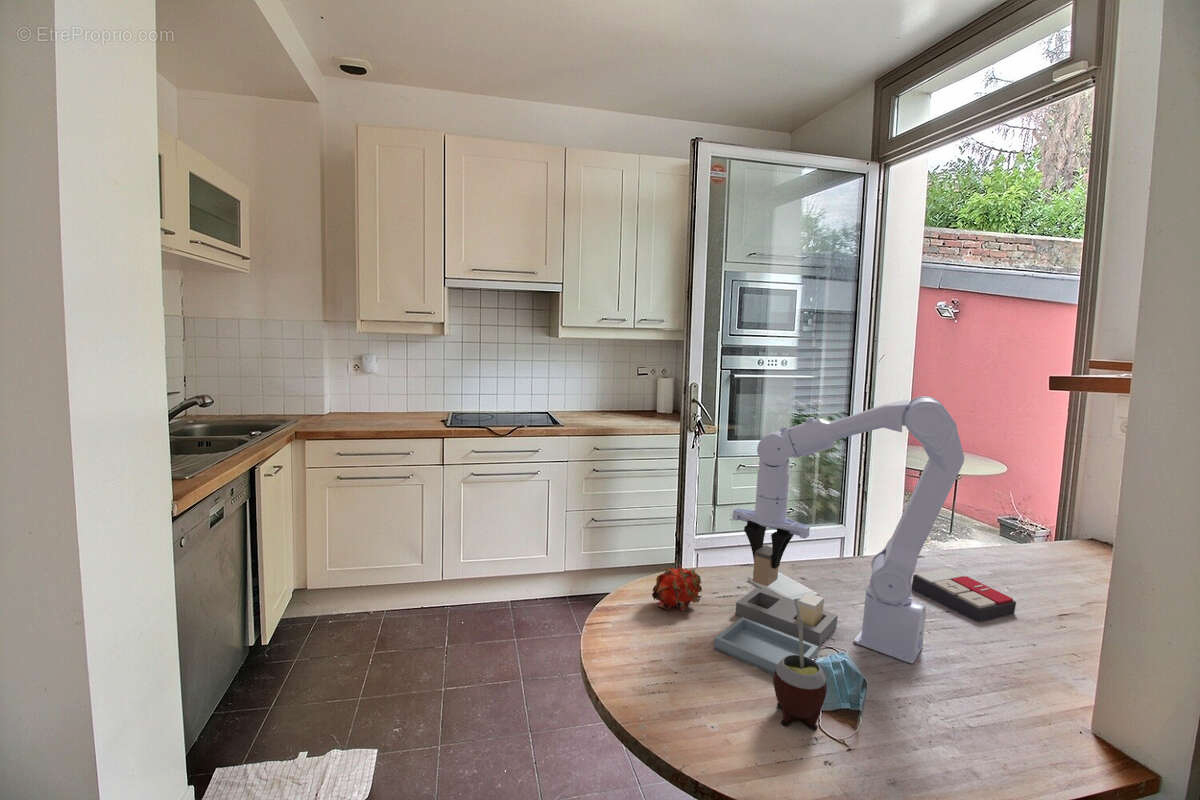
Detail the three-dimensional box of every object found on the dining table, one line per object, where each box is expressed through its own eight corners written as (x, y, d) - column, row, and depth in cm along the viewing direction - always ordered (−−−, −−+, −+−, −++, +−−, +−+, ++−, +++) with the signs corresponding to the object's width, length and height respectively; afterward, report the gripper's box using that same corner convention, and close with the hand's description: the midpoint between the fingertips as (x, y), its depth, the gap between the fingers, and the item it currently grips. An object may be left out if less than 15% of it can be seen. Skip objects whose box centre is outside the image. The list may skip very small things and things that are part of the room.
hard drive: (748, 575, 125) (790, 600, 114) (775, 569, 129) (819, 592, 118) (747, 582, 126) (790, 607, 115) (775, 576, 129) (819, 600, 118)
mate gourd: (803, 742, 76) (813, 636, 74) (755, 709, 82) (763, 610, 81) (835, 721, 81) (845, 620, 79) (787, 691, 87) (795, 597, 85)
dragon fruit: (703, 607, 116) (656, 630, 109) (679, 572, 120) (633, 592, 114) (719, 586, 110) (671, 609, 104) (694, 550, 115) (646, 570, 108)
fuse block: (836, 627, 106) (837, 615, 106) (818, 646, 100) (820, 633, 99) (756, 598, 117) (757, 587, 116) (735, 614, 110) (736, 602, 110)
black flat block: (980, 606, 110) (913, 571, 124) (977, 627, 111) (910, 589, 124) (1018, 598, 114) (948, 565, 128) (1014, 618, 115) (945, 583, 128)
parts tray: (817, 657, 96) (818, 646, 96) (793, 683, 89) (794, 671, 88) (741, 627, 105) (741, 616, 105) (713, 648, 98) (714, 637, 97)
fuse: (821, 628, 106) (824, 597, 105) (812, 637, 103) (815, 606, 102) (805, 622, 108) (807, 592, 107) (795, 631, 104) (798, 600, 104)
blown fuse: (777, 579, 111) (779, 549, 110) (767, 586, 108) (769, 555, 107) (762, 574, 113) (765, 545, 112) (752, 581, 109) (754, 551, 109)
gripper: (818, 499, 106) (811, 569, 108) (746, 483, 116) (741, 547, 117) (803, 507, 101) (797, 580, 103) (729, 490, 110) (724, 557, 112)
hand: (766, 564), depth 110 cm, fingers closed on blown fuse, 3 cm apart
